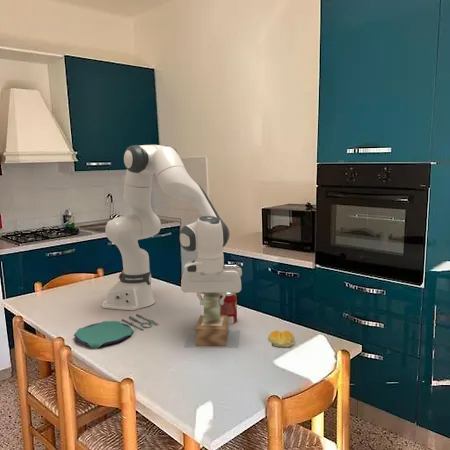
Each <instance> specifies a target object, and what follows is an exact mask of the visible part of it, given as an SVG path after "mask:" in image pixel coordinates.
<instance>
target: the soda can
mask: <svg viewBox="0 0 450 450" xmlns="http://www.w3.org/2000/svg"><path fill="white" fill-rule="evenodd" d="M222 297H223V296H222V293H220V299H222ZM237 298H238V297H237V296H236V293H227V294H226V297H225V298H224V304H223V305H220V315H221V316H228V319H229V325H235V324H236V323H237V321H238V309H237V305H238V303H237Z"/></svg>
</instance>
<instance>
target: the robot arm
mask: <svg viewBox="0 0 450 450" xmlns="http://www.w3.org/2000/svg"><path fill="white" fill-rule="evenodd" d="M123 165H124V167H125V168H126V172H125V178H124V186H123V187H124V189H123V196H122V197H123V201H124V204H126V206H128V207H129V208H131V212H132V213H131V214H130V215H124V216H123V215H122V216H118V217H115V218H112V219H111V220H108V221H107V223H106V225H105V235H106V237H107V240H109V242H111V243H113V244H114V245H115V246H116V247H117V248H118V250H119V252H120V254H121V259H122V267H123V269H122V271H121V272H120V273H119V275H118V279H119V281H118V282H117V283H116V284H114V285H112V287H110V289H109V290H108V292H107V298H106V299H105V300H103V302H102V303H101V307H102V309H111V310H120V311H121V310H122V311H123V310H124V311H125V310H126V311H137V310H139V309H143V308H147V307H150V306H151V305H154V304H155V302H156V300H155V296H154V295H153V290H152V289H153V288H152V273H151V269H150V256H149V253H148V252H147V250H145V249H143V248H140V246H139V245H140V244H139V242H138V241H140V240H144V239H149V238H151V237H154V236H156V235H157V234H159V233H160V230H161V228H162V227H161V226H162V225H161V224H162V221H161V219H160V217H159V216H158V215H157V214H156V213H155V212H154V210H153V208H152V200H151V199H152V187H153V178H154V177H153V176H154V174H155V177H156V180H157V183H158V186H159V188H160V190H161V191H162V192H163V193H164V195H166V196H168V197H170V198H171V199H175V200H181V201H184V202H186V203H189V204H192V206H194V207H195V208H196V209H197V211H198V213H199V215H200V216H199V217H198V218H197V219H196V221H194V222H191V223H190V224H186V225H183V226H182V228H181V229H180V231H179V235H178V240H179V244H180V246H181V248H182V249H183V250H185V251H186V252H189V253H190V252H191V253H193V252H196V253H197V256H196V257H197V258H195V259H193V260H190V261H187V262H186V263H185V265H184V267H183V270H184V272H183V274H182V275H181V283H180V289H181V291H182V292H183V293H196V297H197V298H198V300H199V305H200V306H204V302H203V296H202V293H203V294H205V293H222V296H223V297H222V299H219V305H223V304H224V298H225V297H226V294H227V293H235V294H236V293H240V292H241V291H242V279H241V277H242V275H243V269H242V268H241V266H239V265H238V264H225V263H224V262H225V257H224V255H225V254H224V251H223V248H224V247H225V246H226V245H227V244H228V241H229V239H230V230H229V227H228V226H227V224H226V223H225V222H224V221H223V219H222V218H221V217H220V215H219V213H218V212H217V210H216V209H215V207H214V205H213V203H212V201H211V200H210V198H209V196H208V195H207V193H206V191H205V190H204V189H203V187H202V186H201V185H200V184H198V183H196V181H195V180H194V179H193V178H192V177H191V176H190V174H189V173H188V172H187V170H186V167H185V165H184V163H183V160H182V159H181V157H180V155H179V153H178V151H177V149H176V148H175V147H173V146H170V145H159V144H143V145H142V144H141V145H139V144H135V145H134V144H133V145H130V146H127V148H126V149H125V151H124V152H123Z"/></svg>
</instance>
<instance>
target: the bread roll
mask: <svg viewBox="0 0 450 450" xmlns="http://www.w3.org/2000/svg"><path fill="white" fill-rule="evenodd" d="M267 340H268V342H270V343H271V345H272V347H275V348H276V347H277V348H279V347H282V348H289V347H293V346H294V345H295V342H296V341H295V335H294V334H293V333H292V332H291V331H287V330H284V331H280V330H274V331H273V330H272V332H270V333H269V334H268V337H267Z"/></svg>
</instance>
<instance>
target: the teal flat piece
mask: <svg viewBox="0 0 450 450" xmlns="http://www.w3.org/2000/svg"><path fill="white" fill-rule="evenodd" d="M135 315H136V317H137V316H138V317H137V318H139V319H141V318H142V320H144V321H146V322H141V321H140V320H138V319H137V318H135V317H133V316H131V315H130V316H128V319H131V320H133V321H135V322H137V323H139V324H140V326H141V327H140V326H138V325H136V324H135V323H134V322H132V321H128V320H125V319H124V318H122V319H121V321H124V322H126V323H127V324H126V323H124V322H121V321H117V320H106V321H105V320H104V321H101V322H97V323H93V324H92V323H91V324H89V325H86V326H84V327H81V328H78V329H77V330H76V331H75V333H73V336H74V339H75V340H76V341H77V342H78V343H79V344H80V343H81V344H83V345H88V346H90V347H91V348H92V349H95V350H96V348H97V349H99V348H100V347H101V346H104V345H111V344H115V343H118V342H121V341H122V340H126V339H127V338H128V337H132V334H133V333H134V328H135V329H137V330H140V331H145V329H150V328H153V326H155V327H157V326H160V324H159V323H158V322H156V321H154V320H153V319H149V318H145V317H144V316H142V315H141V314H139V313H136V314H135ZM128 324H129V325H128ZM143 325H148V326H143ZM149 326H150V327H149ZM132 327H133V328H132Z"/></svg>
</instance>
